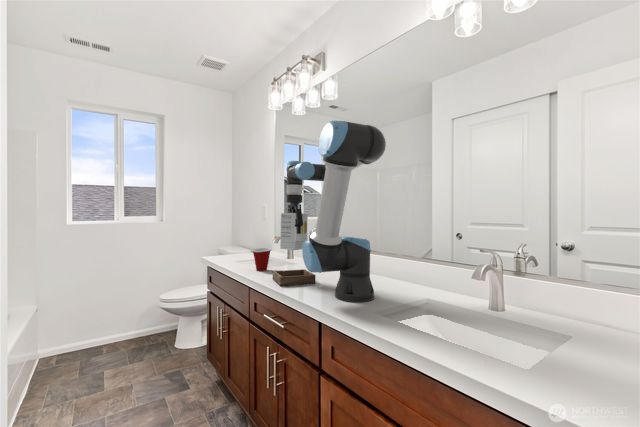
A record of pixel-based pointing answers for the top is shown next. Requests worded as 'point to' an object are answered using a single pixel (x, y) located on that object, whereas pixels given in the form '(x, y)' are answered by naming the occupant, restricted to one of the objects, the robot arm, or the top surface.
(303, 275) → the wooden tray
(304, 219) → the supplement box
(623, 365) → the top surface
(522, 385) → the top surface
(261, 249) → the plastic cup
